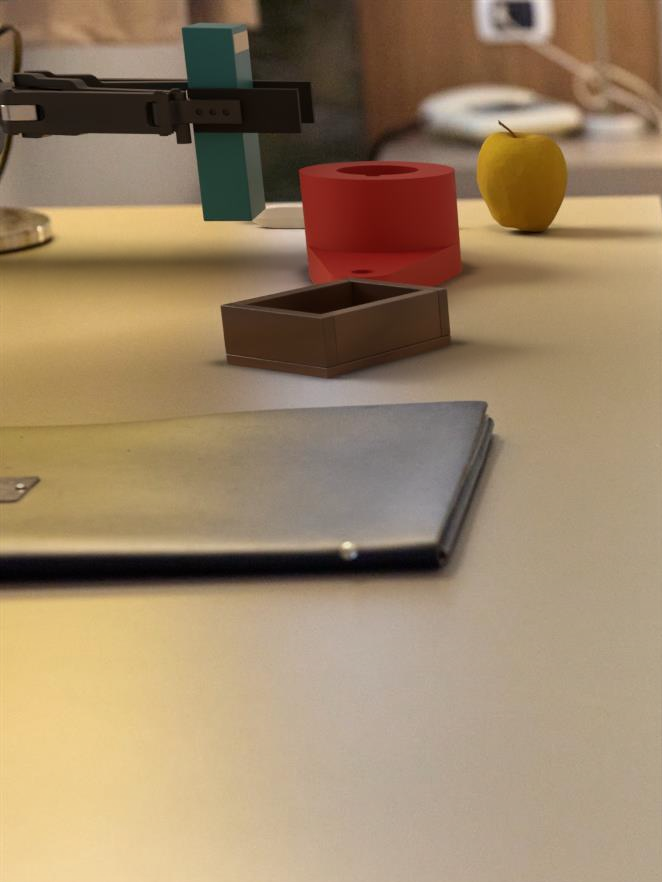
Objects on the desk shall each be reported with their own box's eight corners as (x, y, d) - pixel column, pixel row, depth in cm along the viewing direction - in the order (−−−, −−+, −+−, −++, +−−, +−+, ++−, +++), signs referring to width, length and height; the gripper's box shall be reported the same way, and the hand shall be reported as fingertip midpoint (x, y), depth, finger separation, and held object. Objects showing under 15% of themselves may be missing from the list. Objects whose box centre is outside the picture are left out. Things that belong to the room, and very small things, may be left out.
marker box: (253, 221, 127) (232, 28, 123) (202, 221, 127) (180, 27, 122) (266, 209, 133) (247, 23, 128) (218, 208, 132) (197, 22, 128)
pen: (444, 229, 144) (443, 206, 143) (247, 228, 142) (245, 205, 141) (447, 226, 145) (446, 203, 145) (252, 225, 143) (249, 202, 143)
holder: (328, 383, 98) (322, 318, 96) (227, 369, 100) (219, 304, 99) (452, 349, 106) (447, 288, 105) (355, 336, 108) (350, 276, 107)
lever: (320, 263, 129) (310, 160, 127) (467, 262, 131) (459, 161, 128) (277, 316, 113) (264, 199, 110) (445, 314, 114) (436, 199, 112)
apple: (462, 230, 144) (454, 118, 141) (535, 222, 148) (529, 114, 145) (513, 241, 140) (506, 126, 137) (586, 233, 144) (581, 121, 141)
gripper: (-138, 49, 114) (279, 56, 118) (-42, 32, 131) (318, 38, 136) (-115, 181, 116) (292, 182, 121) (-24, 147, 134) (329, 149, 138)
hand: (305, 106), depth 128 cm, fingers closed on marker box, 6 cm apart
